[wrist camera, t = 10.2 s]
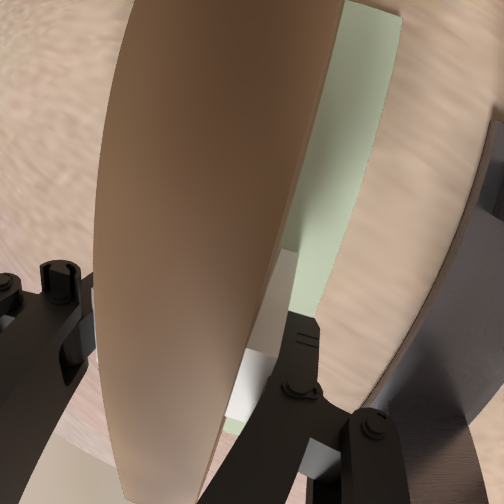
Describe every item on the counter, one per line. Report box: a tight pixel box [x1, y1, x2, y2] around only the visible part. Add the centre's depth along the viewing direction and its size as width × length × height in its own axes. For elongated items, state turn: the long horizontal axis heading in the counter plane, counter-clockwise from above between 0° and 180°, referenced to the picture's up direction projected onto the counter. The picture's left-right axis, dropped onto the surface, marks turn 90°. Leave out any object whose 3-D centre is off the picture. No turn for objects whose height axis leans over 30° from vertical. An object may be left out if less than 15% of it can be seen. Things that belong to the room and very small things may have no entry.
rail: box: [93, 0, 345, 504], centre depth 8 cm, size 3×22×3 cm, turn 167°
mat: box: [222, 0, 403, 436], centre depth 14 cm, size 8×24×1 cm, turn 167°
